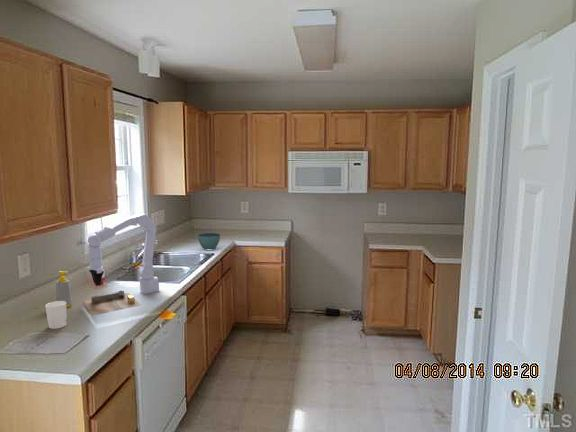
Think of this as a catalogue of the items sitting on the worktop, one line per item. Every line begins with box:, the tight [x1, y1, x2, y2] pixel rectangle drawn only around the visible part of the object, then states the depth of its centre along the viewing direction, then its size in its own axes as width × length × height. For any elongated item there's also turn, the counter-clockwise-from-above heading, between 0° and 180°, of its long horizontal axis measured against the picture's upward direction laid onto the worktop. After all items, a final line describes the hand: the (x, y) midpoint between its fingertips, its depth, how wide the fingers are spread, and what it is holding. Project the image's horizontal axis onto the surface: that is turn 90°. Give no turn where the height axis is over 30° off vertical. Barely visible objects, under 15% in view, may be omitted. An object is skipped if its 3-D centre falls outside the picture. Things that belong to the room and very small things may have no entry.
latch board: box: [82, 292, 142, 316], centre depth 199 cm, size 22×24×2 cm
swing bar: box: [90, 290, 125, 303], centre depth 203 cm, size 16×3×3 cm, turn 126°
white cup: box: [44, 301, 68, 330], centre depth 174 cm, size 8×8×10 cm
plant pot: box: [197, 232, 221, 250], centre depth 331 cm, size 18×18×12 cm
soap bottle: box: [55, 270, 73, 309], centre depth 198 cm, size 7×7×18 cm
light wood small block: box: [127, 294, 136, 303], centre depth 200 cm, size 2×4×3 cm, turn 36°
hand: (97, 284), depth 204 cm, fingers open, 4 cm apart
